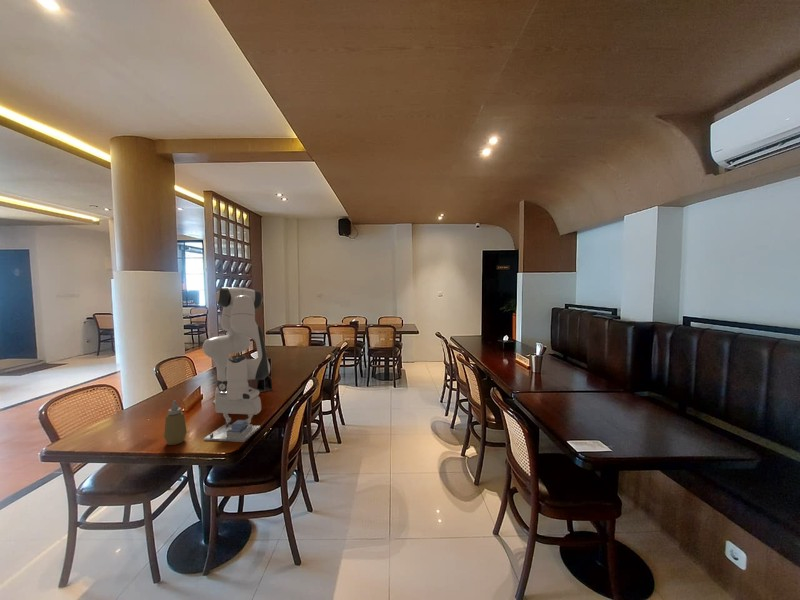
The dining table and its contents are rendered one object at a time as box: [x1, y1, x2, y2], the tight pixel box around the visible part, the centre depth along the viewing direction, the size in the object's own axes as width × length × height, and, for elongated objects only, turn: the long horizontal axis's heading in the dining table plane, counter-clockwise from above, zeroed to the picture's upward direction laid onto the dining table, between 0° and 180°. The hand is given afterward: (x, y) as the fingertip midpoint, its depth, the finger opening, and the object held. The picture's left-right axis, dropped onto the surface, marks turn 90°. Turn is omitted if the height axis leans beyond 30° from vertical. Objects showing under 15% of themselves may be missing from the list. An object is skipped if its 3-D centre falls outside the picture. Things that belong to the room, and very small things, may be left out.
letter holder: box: [247, 375, 273, 394], centre depth 215 cm, size 10×20×14 cm, turn 41°
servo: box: [230, 419, 248, 432], centre depth 148 cm, size 8×4×4 cm, turn 175°
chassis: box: [203, 422, 261, 443], centre depth 149 cm, size 14×18×3 cm
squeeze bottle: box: [163, 400, 188, 446], centre depth 141 cm, size 8×8×18 cm
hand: (238, 422), depth 148 cm, fingers open, 8 cm apart
